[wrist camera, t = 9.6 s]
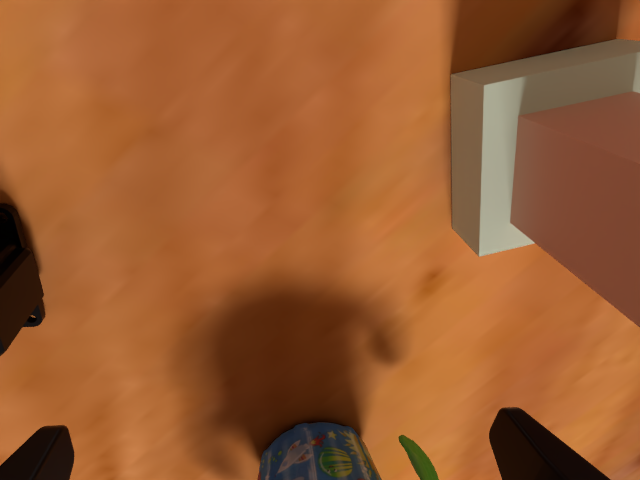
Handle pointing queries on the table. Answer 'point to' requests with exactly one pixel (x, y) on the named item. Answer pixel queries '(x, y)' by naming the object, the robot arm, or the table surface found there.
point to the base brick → (502, 120)
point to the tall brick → (584, 192)
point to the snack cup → (330, 455)
